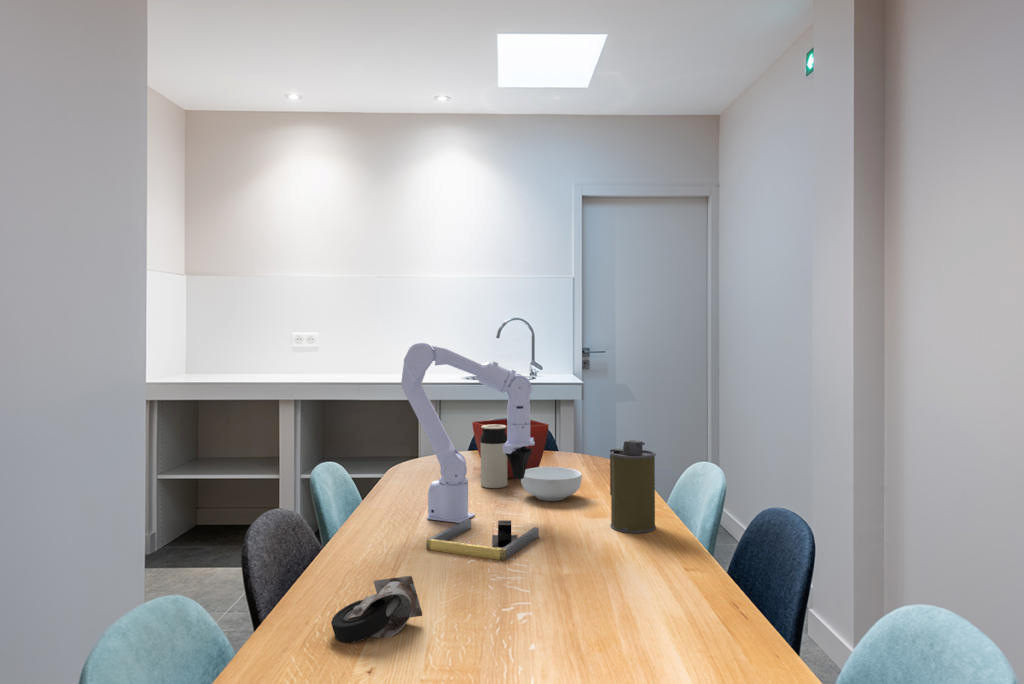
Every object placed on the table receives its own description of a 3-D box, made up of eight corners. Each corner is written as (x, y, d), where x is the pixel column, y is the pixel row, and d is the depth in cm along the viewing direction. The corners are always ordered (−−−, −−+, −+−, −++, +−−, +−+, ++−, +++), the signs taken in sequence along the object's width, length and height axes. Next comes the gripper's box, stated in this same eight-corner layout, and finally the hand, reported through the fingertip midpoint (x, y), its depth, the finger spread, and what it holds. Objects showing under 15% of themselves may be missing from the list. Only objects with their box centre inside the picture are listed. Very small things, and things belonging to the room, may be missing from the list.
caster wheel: (329, 659, 98) (360, 621, 108) (398, 652, 95) (424, 613, 105) (316, 616, 98) (349, 582, 107) (385, 608, 95) (413, 573, 104)
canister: (664, 526, 158) (664, 441, 158) (640, 536, 150) (639, 446, 150) (625, 518, 166) (624, 436, 165) (600, 527, 158) (599, 441, 158)
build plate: (521, 553, 141) (521, 530, 141) (486, 553, 141) (486, 531, 141) (520, 535, 154) (520, 514, 154) (488, 535, 154) (488, 514, 153)
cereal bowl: (511, 501, 183) (511, 475, 183) (532, 489, 199) (532, 465, 199) (571, 507, 177) (571, 480, 177) (588, 493, 192) (588, 468, 192)
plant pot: (496, 482, 208) (496, 427, 208) (471, 472, 225) (471, 421, 225) (550, 476, 216) (550, 424, 216) (521, 466, 233) (521, 418, 233)
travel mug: (512, 485, 204) (512, 425, 204) (497, 490, 197) (497, 428, 197) (490, 482, 208) (490, 423, 208) (475, 486, 202) (475, 426, 202)
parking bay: (426, 549, 142) (426, 539, 142) (467, 527, 158) (467, 518, 158) (504, 560, 134) (504, 550, 134) (538, 536, 150) (538, 527, 150)
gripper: (521, 427, 159) (521, 485, 160) (544, 421, 173) (544, 474, 173) (494, 426, 162) (494, 482, 162) (519, 419, 176) (519, 472, 176)
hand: (518, 478), depth 168 cm, fingers closed
